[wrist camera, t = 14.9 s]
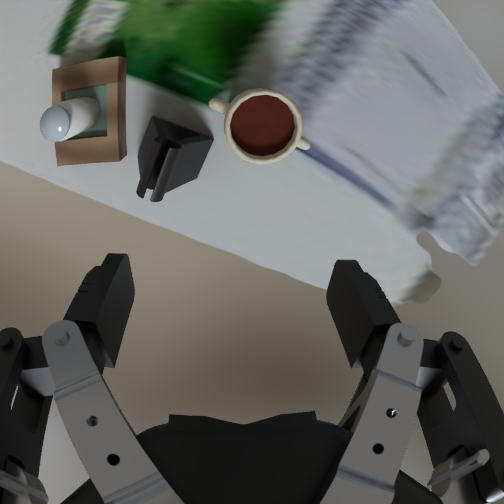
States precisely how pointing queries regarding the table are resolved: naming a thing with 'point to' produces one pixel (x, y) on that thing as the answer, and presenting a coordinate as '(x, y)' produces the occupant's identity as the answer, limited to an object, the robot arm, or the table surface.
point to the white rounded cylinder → (69, 118)
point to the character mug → (261, 125)
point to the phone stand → (169, 157)
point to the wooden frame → (112, 110)
